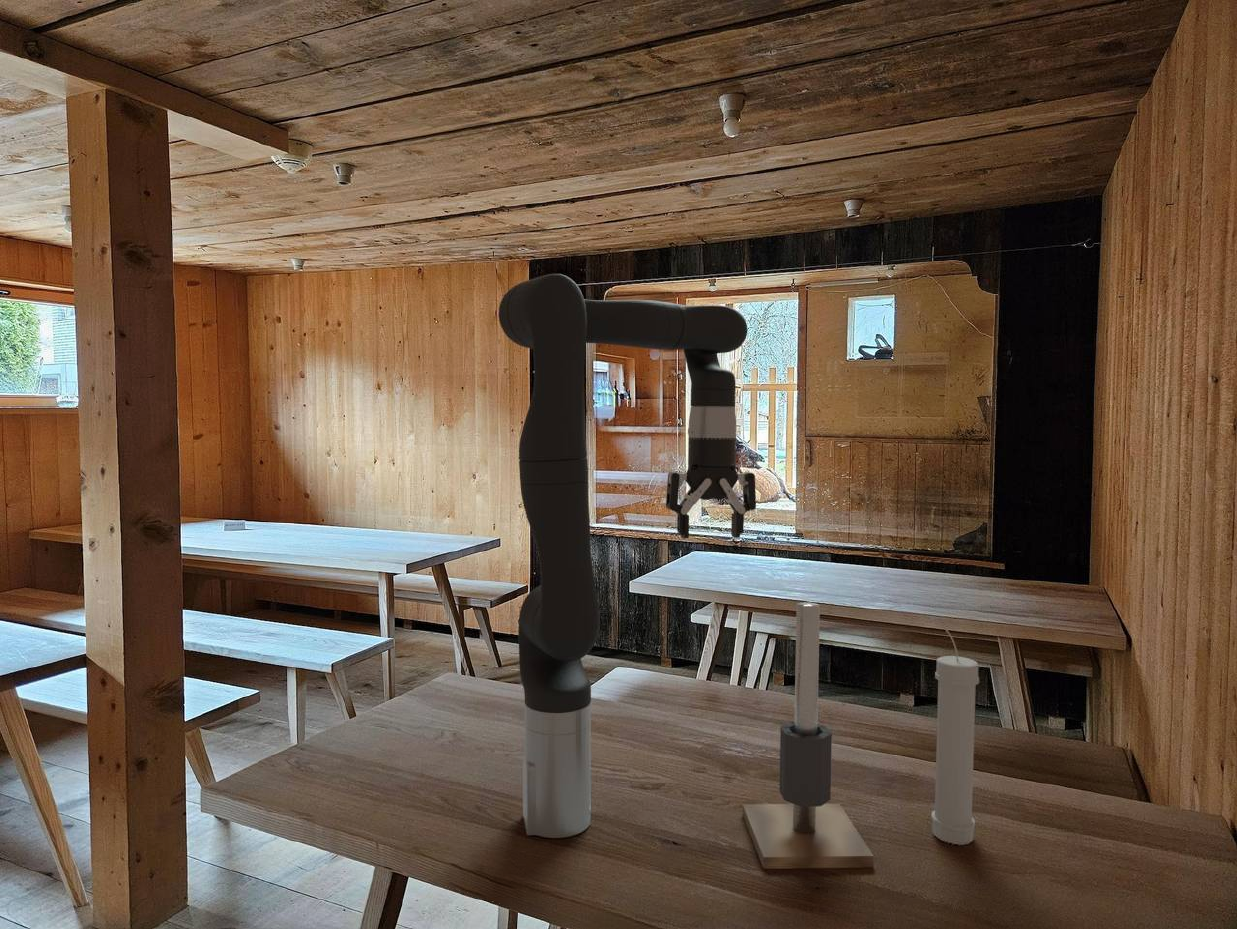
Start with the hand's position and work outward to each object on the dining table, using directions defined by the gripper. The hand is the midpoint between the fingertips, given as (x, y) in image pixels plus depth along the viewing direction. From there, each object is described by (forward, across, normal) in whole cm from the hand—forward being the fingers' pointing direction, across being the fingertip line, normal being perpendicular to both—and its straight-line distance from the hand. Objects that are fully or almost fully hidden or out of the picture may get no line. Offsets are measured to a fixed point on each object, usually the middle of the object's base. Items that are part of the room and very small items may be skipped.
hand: (710, 537), depth 127 cm
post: (+38, +6, -23) cm, 45 cm away
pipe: (+38, +26, -26) cm, 53 cm away
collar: (+32, +6, -23) cm, 40 cm away
